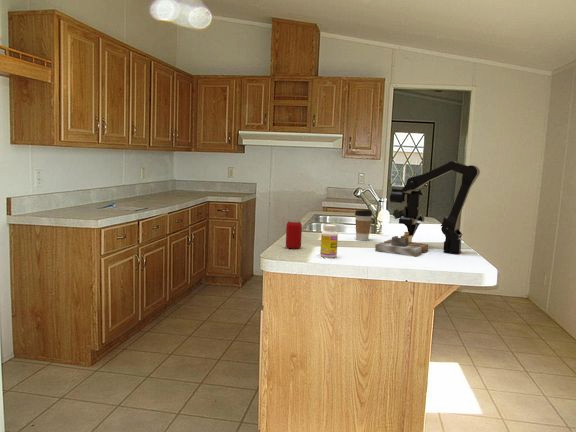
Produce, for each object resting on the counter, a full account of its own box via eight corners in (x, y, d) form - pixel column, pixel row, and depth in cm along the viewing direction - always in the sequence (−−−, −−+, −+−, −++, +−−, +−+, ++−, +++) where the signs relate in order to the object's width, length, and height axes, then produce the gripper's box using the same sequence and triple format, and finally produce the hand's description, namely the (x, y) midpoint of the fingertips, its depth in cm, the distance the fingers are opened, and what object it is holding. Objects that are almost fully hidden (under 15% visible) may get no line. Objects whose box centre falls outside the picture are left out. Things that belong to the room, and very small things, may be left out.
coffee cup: (371, 241, 241) (373, 211, 239) (354, 241, 241) (356, 210, 239) (369, 239, 249) (371, 209, 247) (352, 238, 249) (354, 209, 247)
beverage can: (301, 247, 219) (302, 220, 217) (300, 249, 212) (301, 222, 211) (286, 246, 219) (287, 219, 218) (284, 248, 213) (285, 221, 211)
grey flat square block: (428, 250, 221) (429, 236, 220) (415, 256, 205) (416, 241, 205) (389, 245, 230) (390, 232, 229) (375, 251, 215) (376, 236, 214)
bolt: (411, 241, 224) (412, 231, 223) (406, 243, 218) (407, 233, 217) (405, 240, 225) (406, 231, 225) (400, 242, 219) (400, 232, 219)
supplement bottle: (330, 258, 194) (331, 226, 193) (317, 256, 198) (318, 224, 197) (340, 256, 199) (341, 225, 198) (326, 254, 204) (328, 223, 202)
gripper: (402, 202, 237) (400, 234, 239) (388, 204, 221) (386, 238, 223) (425, 203, 231) (423, 236, 233) (412, 206, 215) (410, 241, 217)
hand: (410, 238), depth 227 cm, fingers closed
